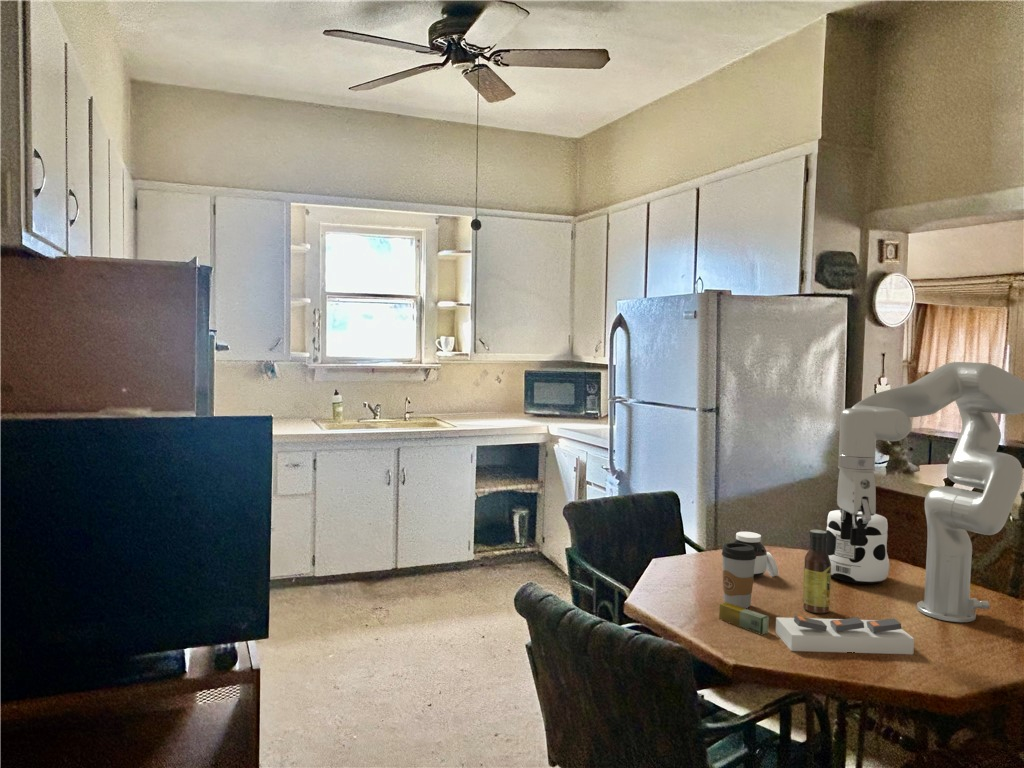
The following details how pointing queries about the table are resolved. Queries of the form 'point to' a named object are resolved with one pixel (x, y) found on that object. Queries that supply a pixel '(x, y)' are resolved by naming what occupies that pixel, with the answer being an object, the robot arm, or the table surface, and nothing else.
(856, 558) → the milk container
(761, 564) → the spread jar
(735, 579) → the coffee cup
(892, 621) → the rocker
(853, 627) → the rocker middle
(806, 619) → the rocker
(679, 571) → the table surface
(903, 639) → the rocker switch panel
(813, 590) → the sauce bottle
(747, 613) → the medication box
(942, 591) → the robot arm
